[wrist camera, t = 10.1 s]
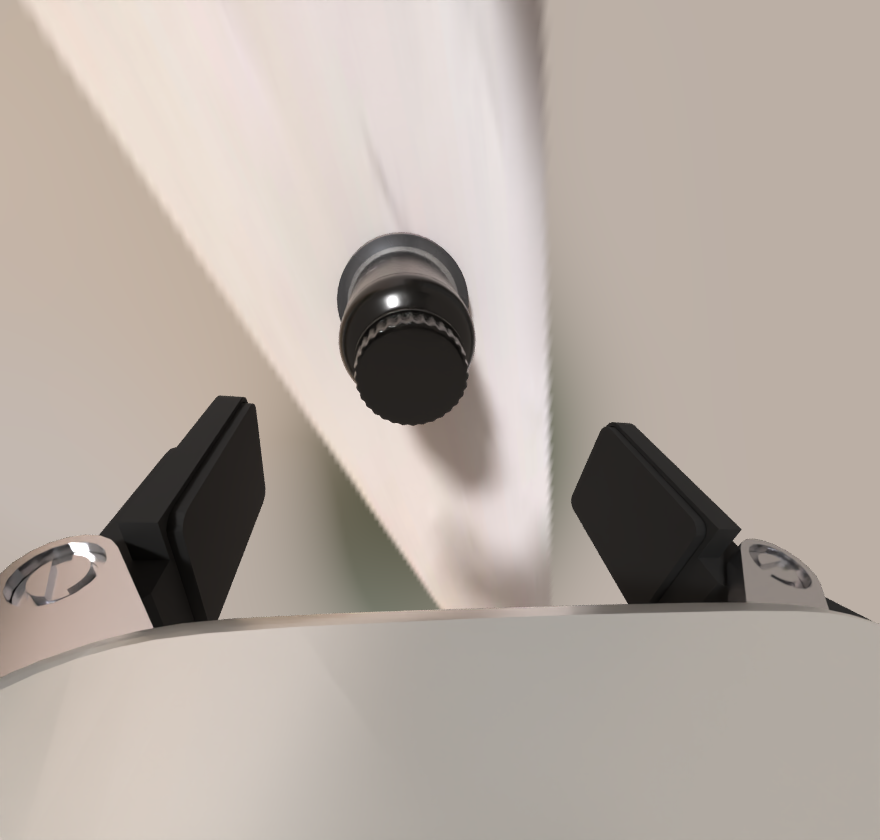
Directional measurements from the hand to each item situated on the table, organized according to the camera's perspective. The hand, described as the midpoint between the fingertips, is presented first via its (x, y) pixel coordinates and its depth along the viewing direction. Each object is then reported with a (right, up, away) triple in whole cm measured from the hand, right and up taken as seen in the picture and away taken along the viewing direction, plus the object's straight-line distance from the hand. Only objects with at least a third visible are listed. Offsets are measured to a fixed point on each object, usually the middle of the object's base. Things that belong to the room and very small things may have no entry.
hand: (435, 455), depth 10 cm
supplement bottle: (-2, +9, +16) cm, 18 cm away
